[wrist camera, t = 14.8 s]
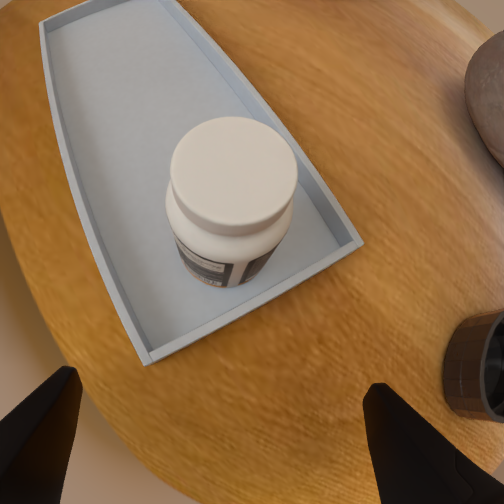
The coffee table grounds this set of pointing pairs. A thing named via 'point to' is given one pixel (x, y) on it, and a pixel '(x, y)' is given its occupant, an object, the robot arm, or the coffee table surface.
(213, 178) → the pill bottle
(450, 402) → the charcoal bowl
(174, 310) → the serving dish
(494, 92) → the clay pot
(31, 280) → the coffee table surface
